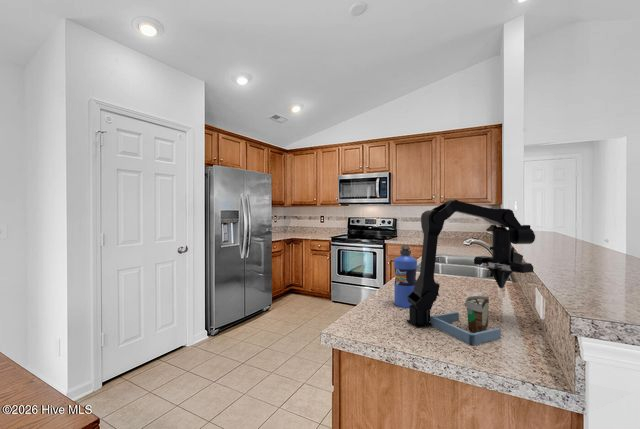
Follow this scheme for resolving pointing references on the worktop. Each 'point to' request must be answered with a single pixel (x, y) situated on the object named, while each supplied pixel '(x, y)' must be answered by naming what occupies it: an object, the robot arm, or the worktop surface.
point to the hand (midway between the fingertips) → (501, 288)
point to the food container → (477, 313)
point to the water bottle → (404, 277)
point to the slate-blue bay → (470, 338)
